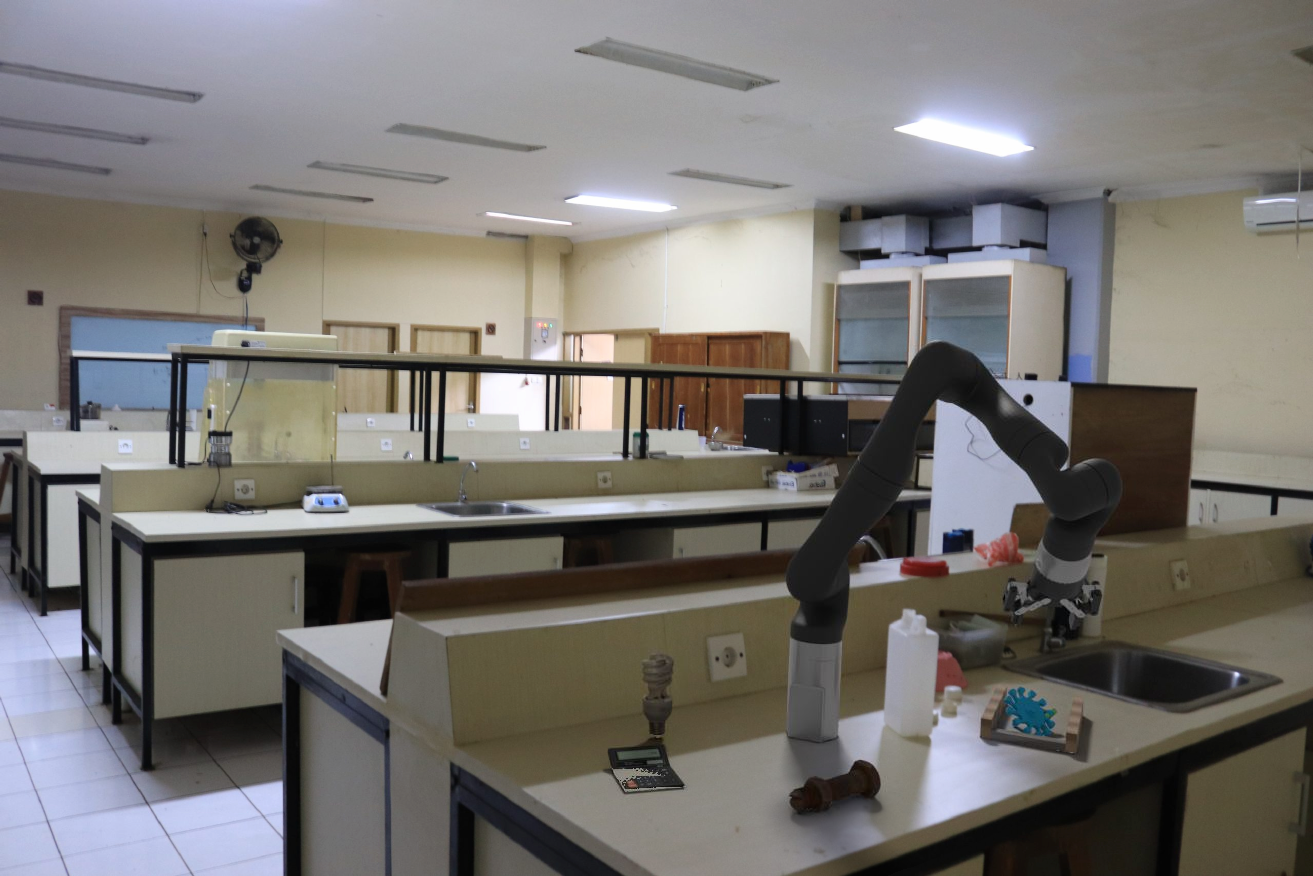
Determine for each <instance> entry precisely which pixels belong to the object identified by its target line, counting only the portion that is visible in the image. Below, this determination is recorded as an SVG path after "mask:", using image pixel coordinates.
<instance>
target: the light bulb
mask: <svg viewBox="0 0 1313 876" xmlns="http://www.w3.org/2000/svg"><path fill="white" fill-rule="evenodd" d="M649 655H650V657H649V658H648V659H643V660H642V662H641V665H642V666H643V667H642V668H641V673H642V674H643V677H642V681H643V682H644V683H646V684H647V690H648V693H646V694H645V695H643V696H642V713H643V715H644V717H646V720H647V721H648V734H650V735H652V734H653V736H654V735H662V734H663V735H664V734H665V733H666V721H667V720H668V719H669V717H670V716H671V715H672V711H673V710H672V709H673V701H674V700H673V696H672V695H670V694H668V693H667V687H669V686H670V685H671V684H672V682H673V677H672V676H673V674H674V665H675V661H674V659H673V657H671V656H669V655H667V654H665V653H662V652H652V653H651V654H649ZM663 735H662V736H663Z"/></svg>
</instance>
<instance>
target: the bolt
mask: <svg viewBox="0 0 1313 876" xmlns="http://www.w3.org/2000/svg"><path fill="white" fill-rule="evenodd" d="M881 781H882V780H881V777H880V774H879V771H878V770H877V767H876V766H875V765H874V764H873V763H872V762H869V761H867V760H864V759H857V760H854V762H853V763H852V765H851V767H850V769H849V771H848V772H845V773H844V774H839V775H835V776H833V777H830V778H827V779H824V778H822V777H819V776H815V775H814V776H812V777H811V776H810V777H808V779H807V780H806V781H805V783H804V784H803V786H801V787H798V788H794V789H793V790H792V791H791V792H790V793H789V795H788V797H789V802H788V803H789V805H790V807H791V808H792V809H794V810H795V811H796V812H798V813H800V812H801V813H802V812H805V811H809V810H811V809H812V810H814V811H817V812H819V811H820V812H819V813H821V811H822V812H825V811H827V810H828V809H829V808H830V807H831V805H832V804H833V802H835V801H839V800H843V799H845V798H848V797H851V796H854V795H859V794H860V796H861V795H862V796H861V797H864V798H865V799H867V800H870V799H873V798H875V797H876V796H877V794H878V793H879V792H880V790H881V786H882V784H881Z"/></svg>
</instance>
